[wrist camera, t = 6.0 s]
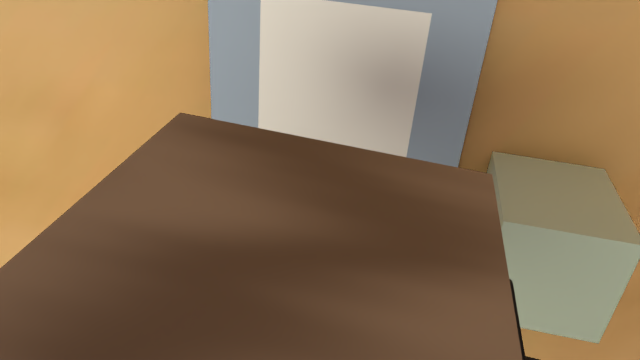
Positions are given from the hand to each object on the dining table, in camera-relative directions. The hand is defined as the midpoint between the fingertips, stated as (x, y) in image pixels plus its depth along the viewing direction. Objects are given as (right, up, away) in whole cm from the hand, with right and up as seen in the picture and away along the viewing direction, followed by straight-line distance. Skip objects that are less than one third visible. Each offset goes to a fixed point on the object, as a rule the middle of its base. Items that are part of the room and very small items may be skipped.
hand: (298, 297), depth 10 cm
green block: (+11, +1, +15) cm, 19 cm away
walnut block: (0, 0, +1) cm, 1 cm away
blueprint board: (+1, +7, +14) cm, 16 cm away
